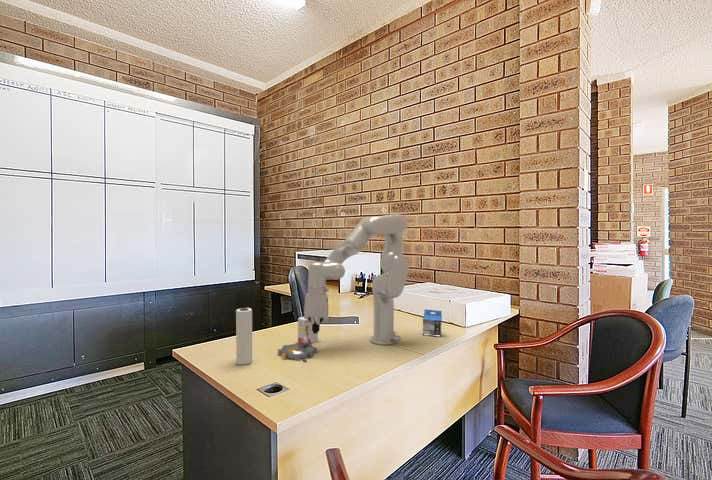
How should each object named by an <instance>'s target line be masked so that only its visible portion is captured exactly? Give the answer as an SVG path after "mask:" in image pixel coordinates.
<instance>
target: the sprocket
mask: <svg viewBox="0 0 712 480" xmlns="http://www.w3.org/2000/svg"><path fill="white" fill-rule="evenodd" d="M317 347H318V346H317ZM317 347H316V346H315V347H314V346H313V343H310V344H308V336H304V337H303V344H300V343H298V342H295V343H293V344H284V345H282V348H278V349H277V356H281V359H282V360H283V361H286V360H293V361H294V360H295V361H296V362H297V361H299V362H300V361H301V360H303V359H312V358H314V354H317V353H318V348H317Z"/></svg>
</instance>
